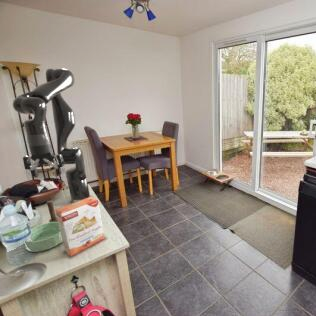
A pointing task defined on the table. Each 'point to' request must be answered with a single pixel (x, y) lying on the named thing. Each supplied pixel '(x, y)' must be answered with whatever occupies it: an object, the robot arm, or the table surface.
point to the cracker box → (80, 225)
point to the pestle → (52, 212)
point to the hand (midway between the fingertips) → (47, 176)
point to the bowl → (44, 237)
